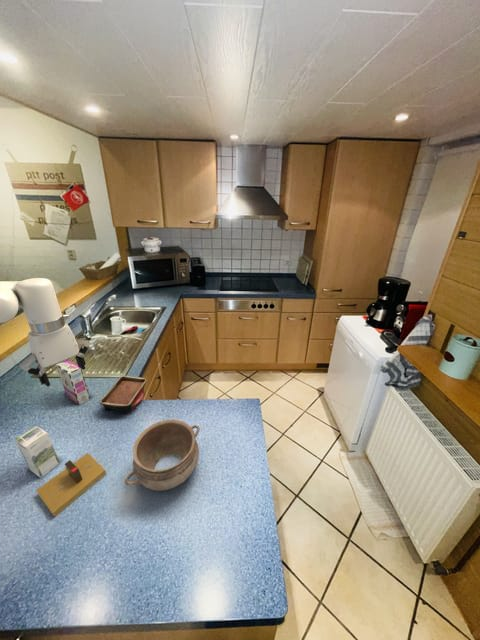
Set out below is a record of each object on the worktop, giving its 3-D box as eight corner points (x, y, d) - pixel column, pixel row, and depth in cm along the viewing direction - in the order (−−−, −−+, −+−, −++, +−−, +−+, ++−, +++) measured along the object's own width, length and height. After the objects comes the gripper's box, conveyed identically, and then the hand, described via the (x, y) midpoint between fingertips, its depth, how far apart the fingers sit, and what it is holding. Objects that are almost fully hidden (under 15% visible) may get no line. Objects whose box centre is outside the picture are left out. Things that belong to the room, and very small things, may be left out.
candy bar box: (91, 399, 105) (82, 367, 98) (79, 407, 101) (68, 374, 95) (78, 389, 111) (68, 358, 104) (66, 396, 107) (54, 364, 100)
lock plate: (55, 519, 65) (52, 512, 64) (39, 496, 70) (35, 489, 69) (107, 476, 76) (105, 469, 75) (89, 459, 81) (87, 452, 80)
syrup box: (50, 456, 81) (35, 424, 75) (61, 464, 79) (47, 431, 73) (30, 472, 77) (13, 438, 71) (42, 480, 74) (25, 447, 68)
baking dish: (153, 396, 111) (150, 375, 108) (129, 422, 94) (124, 399, 91) (123, 394, 113) (120, 374, 110) (95, 419, 96) (90, 396, 94)
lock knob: (68, 474, 73) (64, 463, 71) (74, 470, 74) (69, 459, 72) (77, 483, 71) (72, 472, 69) (82, 479, 72) (78, 468, 70)
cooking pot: (149, 529, 64) (142, 500, 59) (115, 480, 75) (106, 452, 70) (219, 460, 81) (218, 433, 76) (182, 429, 92) (179, 403, 87)
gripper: (74, 311, 76) (88, 358, 83) (2, 332, 63) (25, 386, 70) (87, 317, 72) (100, 366, 80) (13, 341, 59) (36, 397, 66)
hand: (65, 375), depth 75 cm, fingers open, 9 cm apart
